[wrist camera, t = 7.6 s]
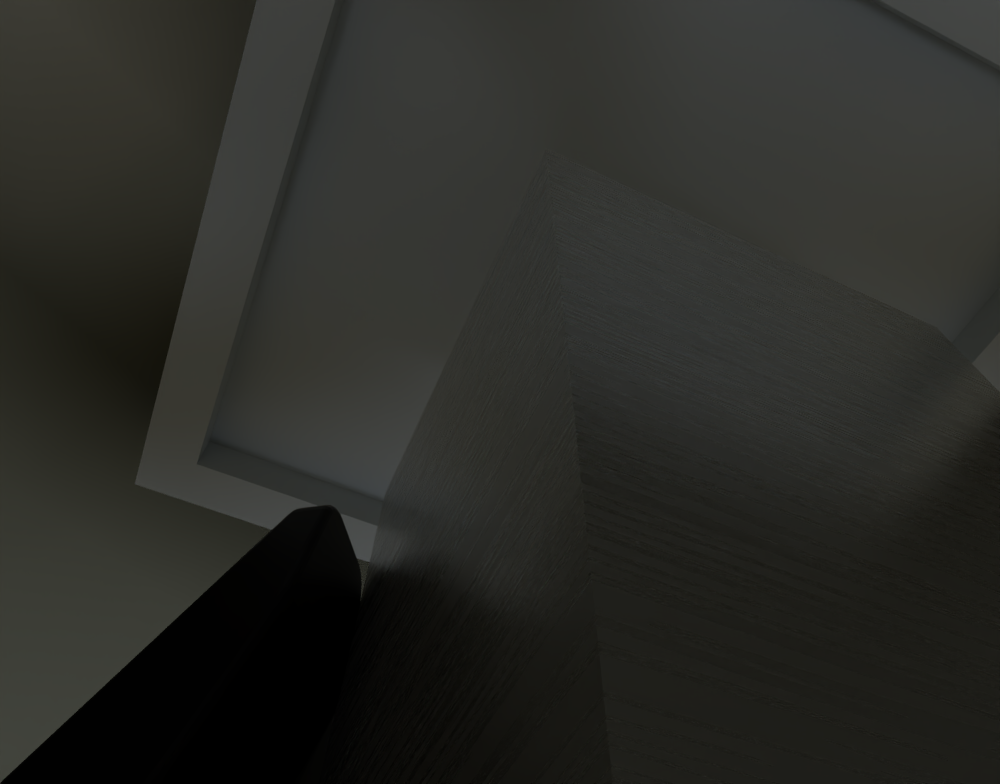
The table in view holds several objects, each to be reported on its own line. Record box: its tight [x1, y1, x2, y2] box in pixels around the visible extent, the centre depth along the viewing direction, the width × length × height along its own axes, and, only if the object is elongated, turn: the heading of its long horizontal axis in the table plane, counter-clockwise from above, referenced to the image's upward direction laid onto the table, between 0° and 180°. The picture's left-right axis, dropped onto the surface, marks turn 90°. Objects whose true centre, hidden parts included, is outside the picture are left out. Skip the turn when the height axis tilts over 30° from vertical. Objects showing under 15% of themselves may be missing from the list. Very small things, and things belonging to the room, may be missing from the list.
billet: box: [319, 149, 1000, 784], centre depth 6 cm, size 4×4×7 cm
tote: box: [135, 0, 1000, 562], centre depth 11 cm, size 11×11×1 cm
